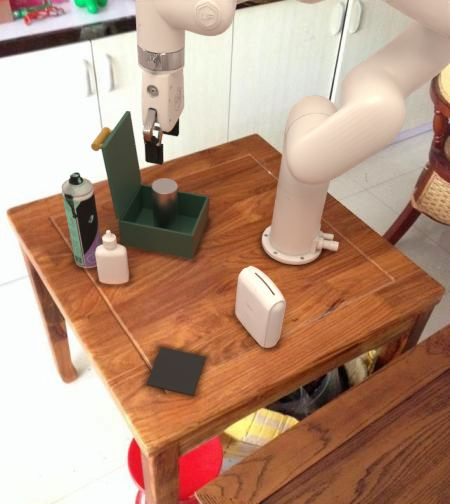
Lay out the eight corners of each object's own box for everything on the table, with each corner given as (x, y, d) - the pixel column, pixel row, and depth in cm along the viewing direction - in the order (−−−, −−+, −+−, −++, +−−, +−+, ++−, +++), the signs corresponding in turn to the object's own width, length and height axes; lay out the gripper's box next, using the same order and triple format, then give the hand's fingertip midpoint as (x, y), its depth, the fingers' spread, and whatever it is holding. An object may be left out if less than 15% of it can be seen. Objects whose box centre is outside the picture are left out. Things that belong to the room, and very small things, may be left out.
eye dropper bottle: (108, 267, 109) (102, 219, 100) (133, 277, 108) (128, 229, 99) (95, 281, 107) (87, 233, 98) (120, 291, 105) (114, 244, 96)
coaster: (205, 357, 96) (205, 356, 96) (193, 396, 91) (193, 395, 90) (160, 347, 97) (160, 346, 97) (146, 385, 91) (146, 384, 91)
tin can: (180, 226, 118) (180, 180, 110) (174, 241, 115) (173, 195, 106) (158, 221, 119) (156, 176, 110) (150, 236, 115) (148, 190, 107)
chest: (208, 220, 121) (209, 196, 116) (192, 260, 112) (192, 236, 107) (141, 207, 122) (140, 183, 117) (120, 246, 114) (118, 221, 109)
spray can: (101, 270, 109) (88, 185, 94) (72, 268, 108) (55, 183, 94) (105, 251, 112) (94, 166, 98) (78, 249, 112) (62, 164, 97)
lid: (130, 111, 106) (107, 109, 106) (104, 147, 97) (80, 144, 98) (141, 181, 117) (121, 179, 118) (120, 219, 108) (97, 217, 109)
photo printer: (230, 313, 103) (235, 265, 94) (250, 305, 105) (256, 256, 96) (262, 352, 97) (270, 305, 88) (282, 343, 99) (292, 295, 90)
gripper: (167, 83, 83) (168, 178, 96) (197, 37, 95) (195, 128, 108) (120, 74, 84) (126, 170, 97) (155, 30, 96) (157, 121, 108)
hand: (162, 148), depth 102 cm, fingers open, 9 cm apart
